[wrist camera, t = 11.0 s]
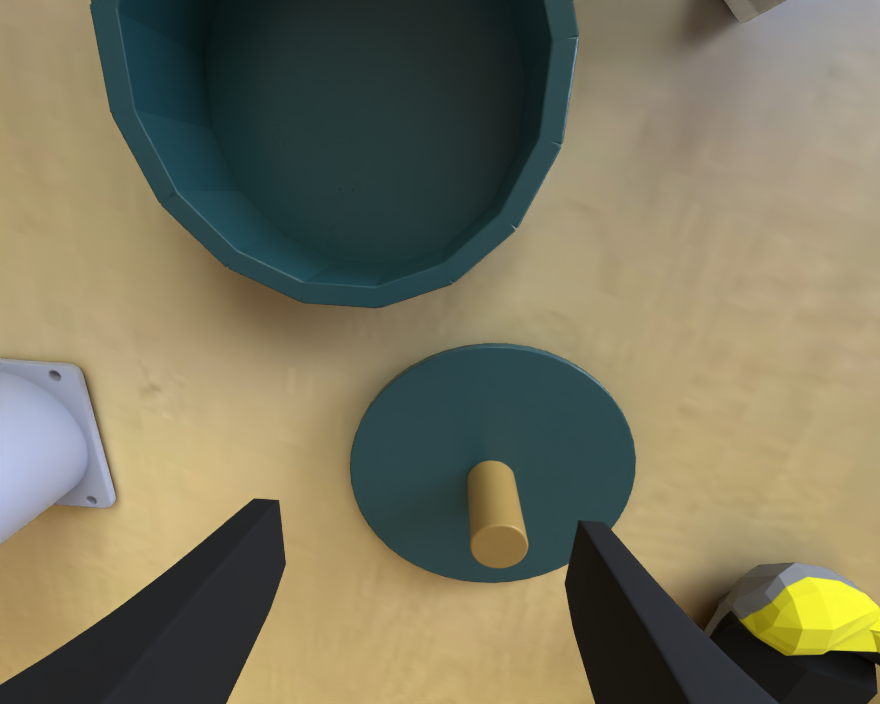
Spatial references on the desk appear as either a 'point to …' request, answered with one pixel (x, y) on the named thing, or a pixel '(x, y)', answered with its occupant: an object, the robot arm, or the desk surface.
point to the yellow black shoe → (801, 634)
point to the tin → (342, 131)
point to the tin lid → (491, 461)
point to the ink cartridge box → (750, 8)
